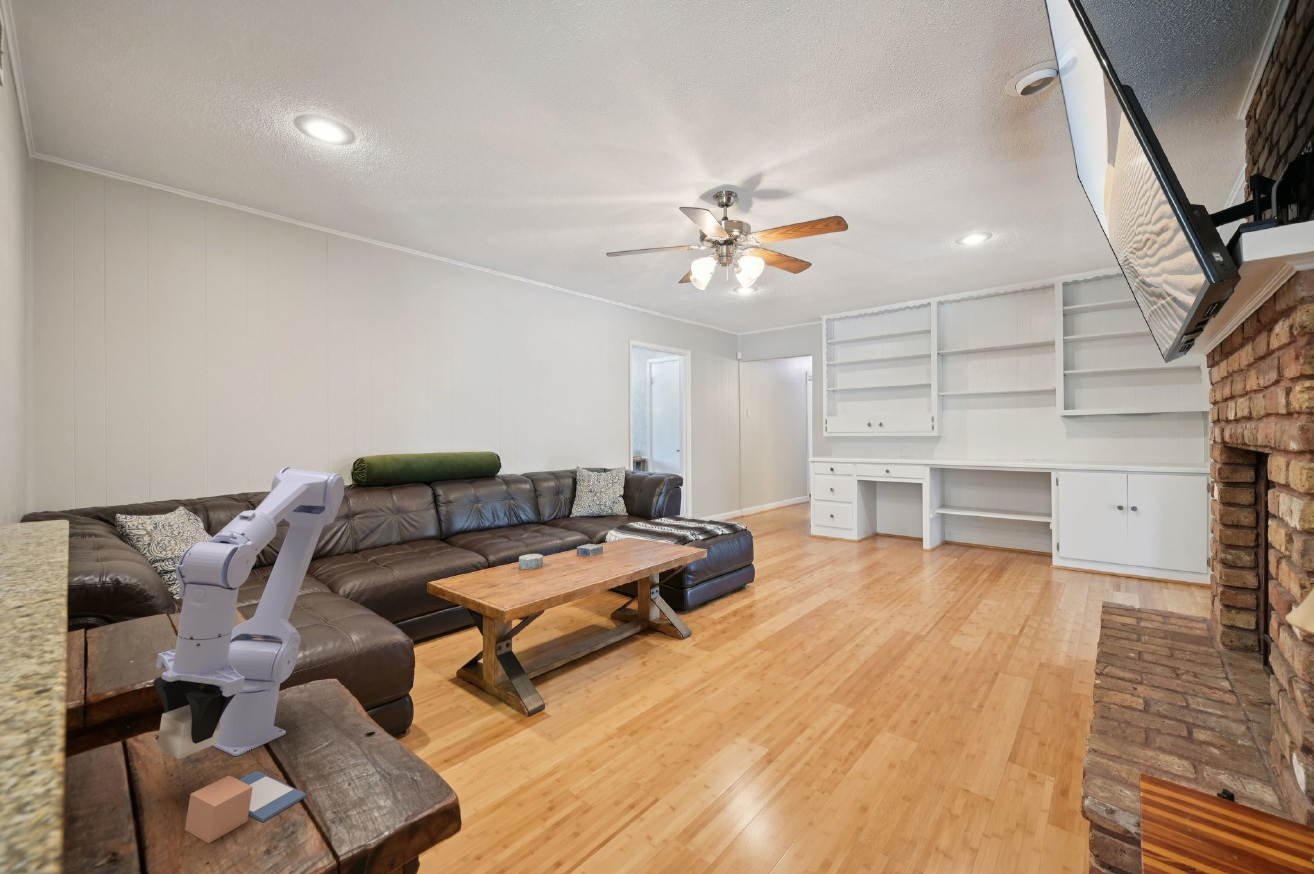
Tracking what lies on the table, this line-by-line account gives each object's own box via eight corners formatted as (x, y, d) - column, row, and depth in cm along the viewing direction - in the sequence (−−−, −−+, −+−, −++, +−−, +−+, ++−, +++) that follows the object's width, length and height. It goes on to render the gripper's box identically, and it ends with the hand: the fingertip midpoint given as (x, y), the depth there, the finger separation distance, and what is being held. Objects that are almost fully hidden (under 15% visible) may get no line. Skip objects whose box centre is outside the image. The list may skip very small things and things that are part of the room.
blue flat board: (211, 796, 74) (211, 792, 74) (256, 773, 80) (257, 770, 80) (262, 822, 71) (263, 818, 71) (306, 796, 76) (306, 793, 76)
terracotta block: (184, 830, 68) (190, 793, 68) (223, 809, 72) (229, 775, 72) (208, 844, 66) (214, 806, 66) (247, 822, 71) (252, 786, 71)
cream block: (156, 748, 72) (162, 714, 72) (195, 733, 76) (200, 700, 76) (178, 759, 70) (184, 724, 71) (216, 743, 75) (221, 710, 75)
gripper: (136, 627, 72) (119, 730, 72) (208, 655, 68) (191, 766, 67) (195, 614, 79) (181, 709, 79) (266, 639, 74) (250, 740, 74)
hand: (189, 733), depth 73 cm, fingers closed on cream block, 4 cm apart
